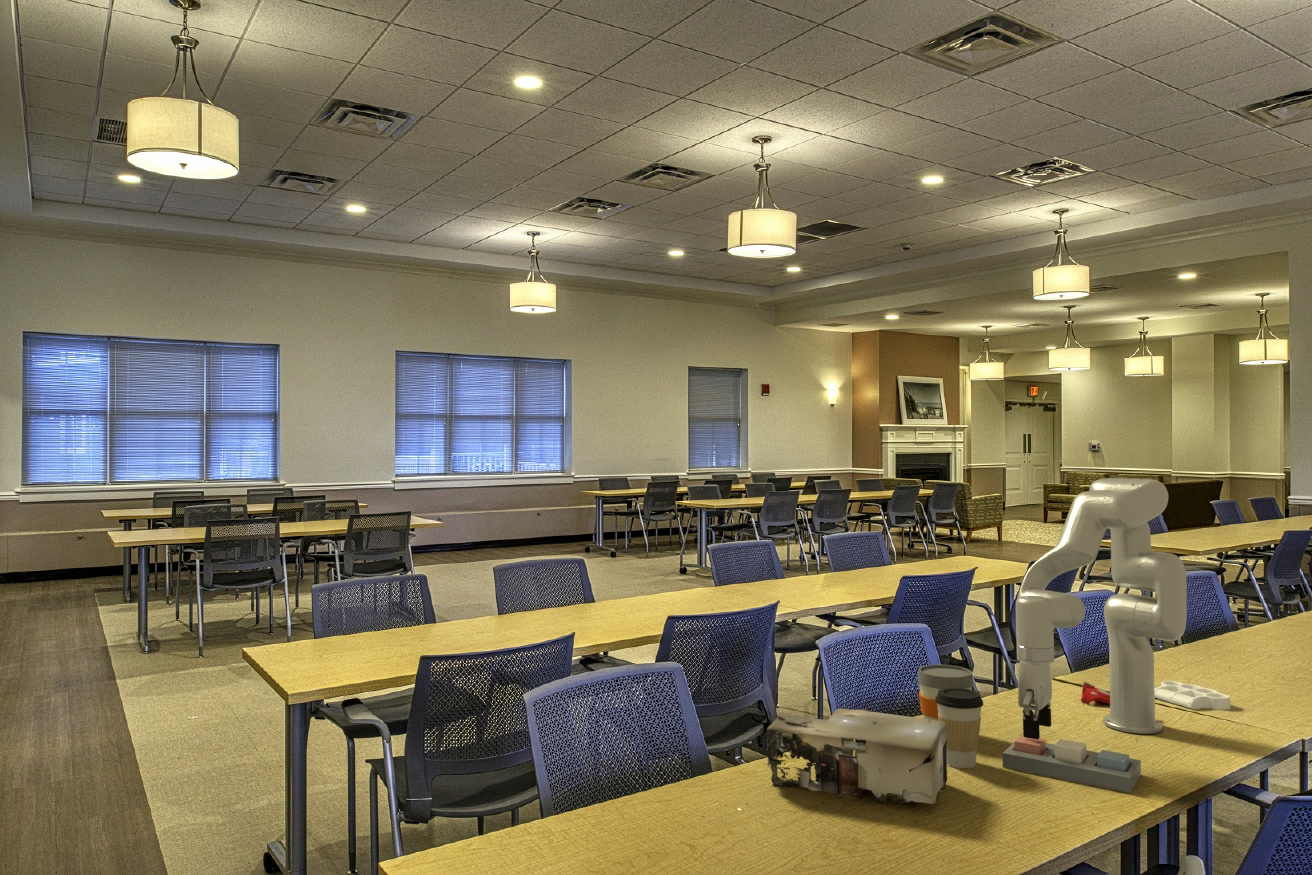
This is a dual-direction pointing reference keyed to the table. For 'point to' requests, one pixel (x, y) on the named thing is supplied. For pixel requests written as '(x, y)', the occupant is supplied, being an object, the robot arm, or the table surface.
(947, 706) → the coffee cup
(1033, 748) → the brick-red key
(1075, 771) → the keypad base
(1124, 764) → the slate-blue key
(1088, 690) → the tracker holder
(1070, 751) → the off-white key
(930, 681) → the reusable coffee cup
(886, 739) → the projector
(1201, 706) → the white egg tray
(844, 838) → the table surface
